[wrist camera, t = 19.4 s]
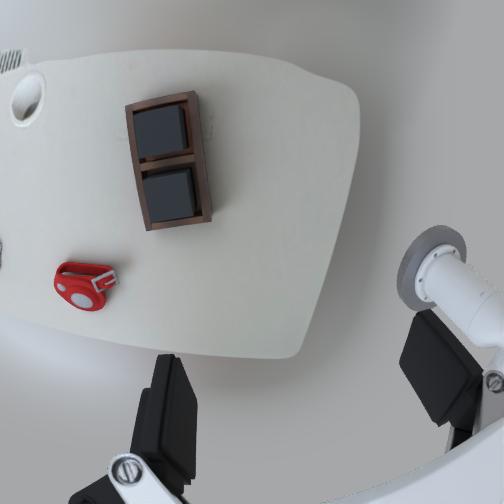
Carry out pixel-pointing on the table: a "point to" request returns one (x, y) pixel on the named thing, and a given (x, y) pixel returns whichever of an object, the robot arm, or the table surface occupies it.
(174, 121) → the dark grey block
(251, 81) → the table surface
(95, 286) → the tracker holder
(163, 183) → the dark grey cube
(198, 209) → the frame
